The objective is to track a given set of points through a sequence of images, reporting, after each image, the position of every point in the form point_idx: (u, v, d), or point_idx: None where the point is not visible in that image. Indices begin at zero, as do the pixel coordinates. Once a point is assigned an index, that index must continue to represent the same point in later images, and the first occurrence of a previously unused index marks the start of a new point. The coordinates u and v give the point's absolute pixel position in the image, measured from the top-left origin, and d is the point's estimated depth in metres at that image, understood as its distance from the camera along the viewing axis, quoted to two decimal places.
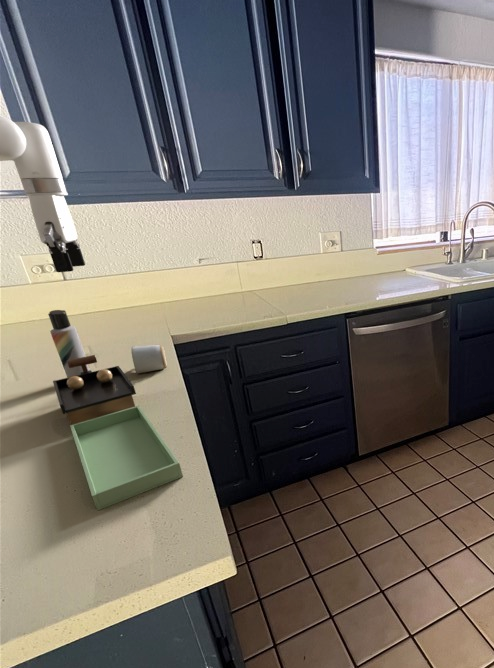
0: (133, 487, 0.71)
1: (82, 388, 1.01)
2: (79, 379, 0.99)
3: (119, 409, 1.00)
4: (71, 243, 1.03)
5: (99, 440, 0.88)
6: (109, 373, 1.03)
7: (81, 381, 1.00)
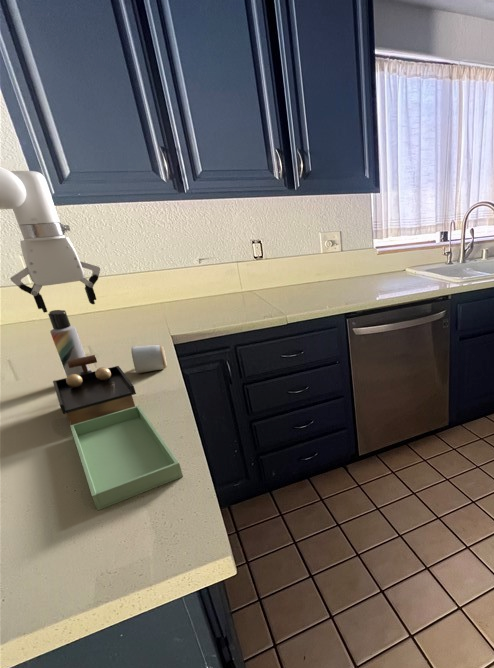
0: (133, 487, 0.71)
1: (82, 388, 1.01)
2: (76, 374, 1.02)
3: (119, 409, 1.00)
4: None
5: (99, 440, 0.88)
6: (106, 368, 1.05)
7: None
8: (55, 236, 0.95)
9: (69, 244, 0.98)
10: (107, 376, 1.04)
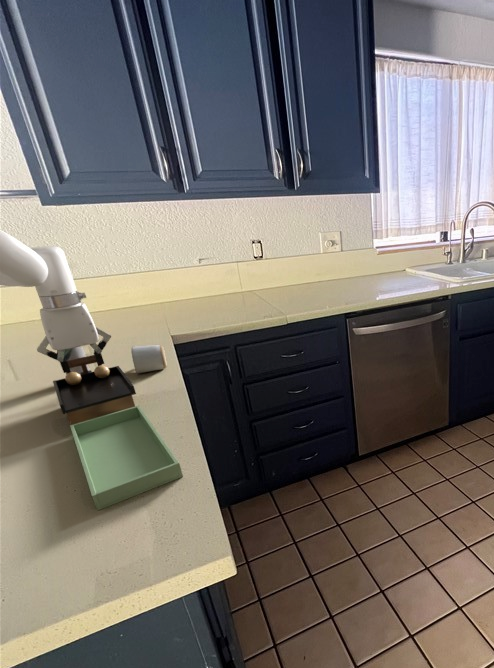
0: (133, 487, 0.71)
1: (82, 388, 1.01)
2: None
3: (119, 409, 1.00)
4: None
5: (99, 440, 0.88)
6: None
7: None
8: (72, 305, 1.00)
9: (85, 311, 1.03)
10: (104, 368, 1.05)
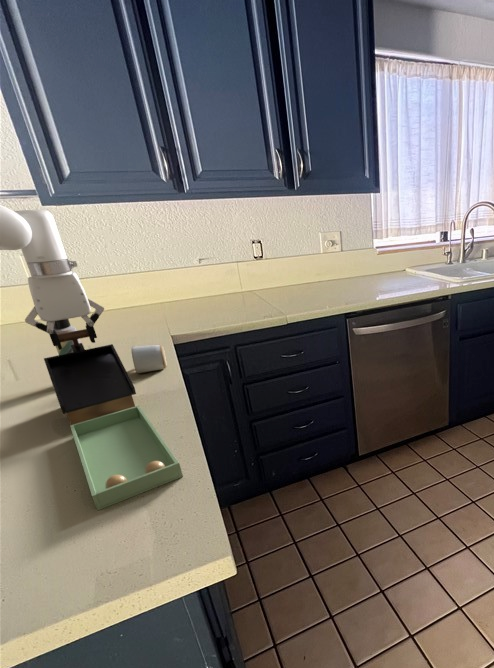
0: (133, 487, 0.71)
1: (77, 373, 0.98)
2: None
3: (119, 409, 1.00)
4: None
5: (99, 440, 0.88)
6: None
7: None
8: (62, 273, 0.95)
9: (76, 280, 0.98)
10: (156, 461, 0.75)
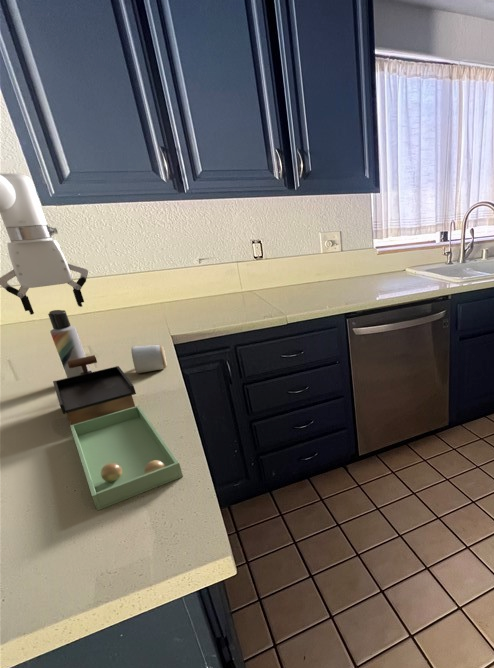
0: (133, 487, 0.71)
1: (82, 388, 1.01)
2: (116, 467, 0.74)
3: (119, 409, 1.00)
4: None
5: (99, 440, 0.88)
6: None
7: (119, 469, 0.74)
8: (41, 238, 0.95)
9: (56, 247, 0.98)
10: (155, 460, 0.75)
